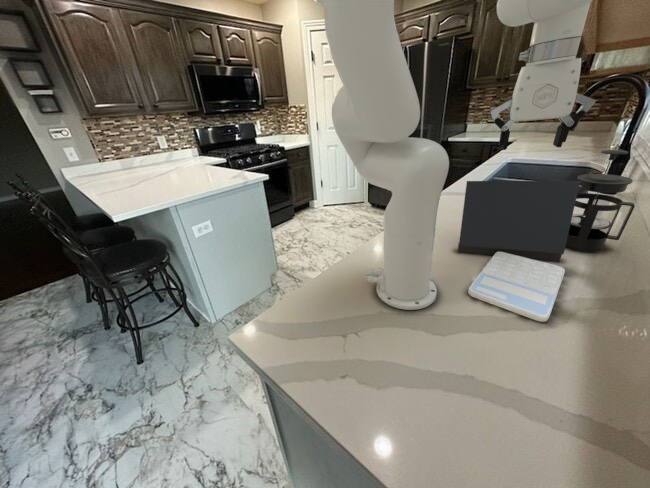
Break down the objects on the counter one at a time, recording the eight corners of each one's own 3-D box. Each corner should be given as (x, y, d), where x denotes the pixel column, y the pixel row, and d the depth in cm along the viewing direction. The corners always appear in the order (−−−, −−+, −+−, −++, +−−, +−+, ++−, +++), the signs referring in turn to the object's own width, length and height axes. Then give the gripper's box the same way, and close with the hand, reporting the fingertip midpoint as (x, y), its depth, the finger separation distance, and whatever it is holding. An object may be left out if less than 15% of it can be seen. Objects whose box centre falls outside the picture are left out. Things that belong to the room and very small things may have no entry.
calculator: (564, 273, 57) (567, 266, 56) (546, 325, 45) (549, 317, 44) (495, 255, 66) (497, 249, 65) (465, 295, 54) (466, 288, 53)
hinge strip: (457, 252, 69) (458, 244, 68) (457, 250, 70) (458, 242, 69) (559, 261, 61) (562, 252, 60) (557, 259, 62) (561, 250, 61)
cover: (467, 181, 64) (466, 181, 64) (458, 246, 68) (458, 245, 68) (580, 180, 56) (579, 180, 56) (563, 254, 60) (562, 254, 60)
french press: (548, 245, 67) (580, 153, 57) (553, 232, 73) (582, 146, 63) (613, 258, 60) (664, 155, 49) (612, 242, 66) (657, 147, 55)
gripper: (500, 61, 50) (485, 153, 59) (623, 41, 43) (587, 148, 51) (496, 64, 56) (483, 146, 64) (603, 46, 49) (573, 142, 57)
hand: (529, 147), depth 58 cm, fingers open, 9 cm apart
